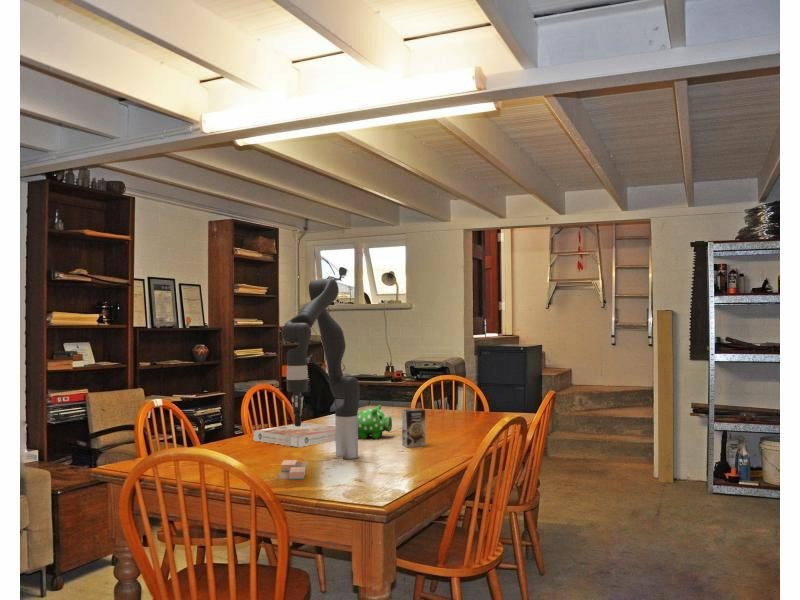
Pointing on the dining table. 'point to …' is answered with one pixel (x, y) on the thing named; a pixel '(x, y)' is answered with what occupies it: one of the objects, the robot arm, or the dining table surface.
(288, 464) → the tile
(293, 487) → the dining table surface
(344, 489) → the dining table surface
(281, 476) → the board
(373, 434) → the piggy bank
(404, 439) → the coffee box
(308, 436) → the pizza box
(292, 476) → the tile
